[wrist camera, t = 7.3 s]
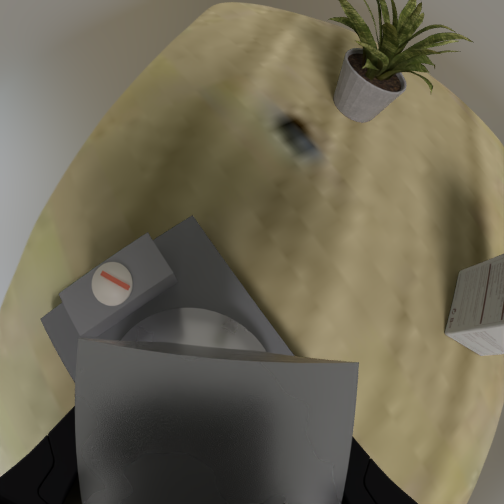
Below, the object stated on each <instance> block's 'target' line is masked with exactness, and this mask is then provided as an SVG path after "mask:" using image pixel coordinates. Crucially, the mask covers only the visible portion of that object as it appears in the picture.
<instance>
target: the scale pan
mask: <svg viewBox="0 0 504 504" xmlns="http://www.w3.org/2000/svg"><path fill="white" fill-rule="evenodd" d="M121 341H146V342H170V343H178V344H187V345H196V346H206V347H216V348H228V349H241V350H255V351H261V352H266V350H265V349H264V347H263V346H262V344H261V343H260V342H259V341H258V339H257V338H256V337H255V336H254V335H253V334H252V333H251V332H250V331H249V330H247V329H246V328H245V327H244V326H242V325H241V324H239V323H238V322H237V321H235V320H233V319H231V318H229V317H227V316H225V315H222V314H220V313H217V312H214V311H210V310H206V309H200V308H175V309H169V310H165V311H162V312H158V313H156V314H154V315H151V316H149V317H147V318H145V319H144V320H142V321H140V322H139V323H138V324H136V325H135V326H134V327H133V328H131V329H130V330H129V331H128V332H127V333H126V335H125V336H124V337H123V338H122V340H121Z"/></svg>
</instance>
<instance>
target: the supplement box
mask: <svg viewBox="0 0 504 504" xmlns="http://www.w3.org/2000/svg"><path fill="white" fill-rule="evenodd" d="M445 334H446V335H447V336H449V337H451V338H452V339H454V340H455V341H457V342H459V343H461V344H462V345H464V346H466V347H467V348H469V349H471V350H472V351H474V352H476V353H477V354H479V355H480V356H483V355H498V354H504V254H502V255H499V256H497V257H494V258H492V259H489V260H486V261H484V262H482V263H479V264H476V265H474V266H471V267H469V268H466V269H463V270H461V271H459V274H458V279H457V284H456V288H455V293H454V298H453V302H452V306H451V310H450V314H449V318H448V322H447V326H446V330H445Z"/></svg>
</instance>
